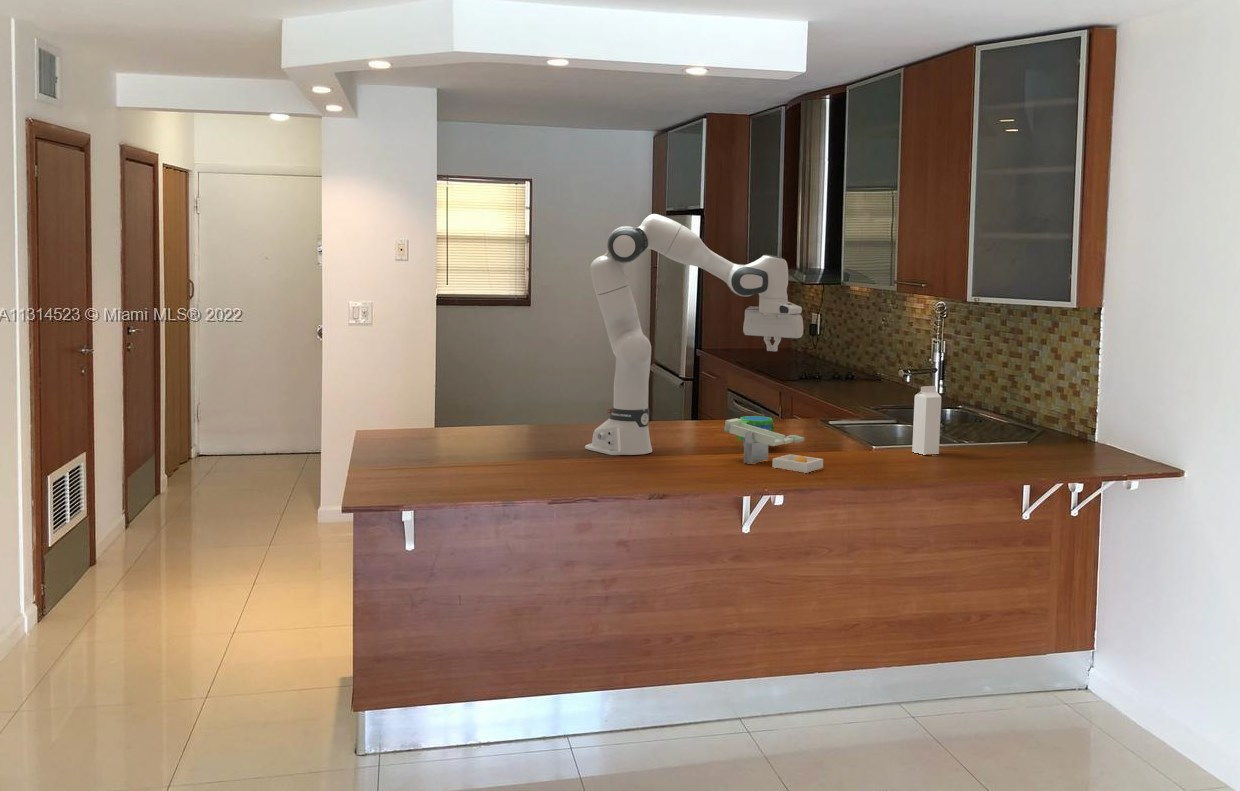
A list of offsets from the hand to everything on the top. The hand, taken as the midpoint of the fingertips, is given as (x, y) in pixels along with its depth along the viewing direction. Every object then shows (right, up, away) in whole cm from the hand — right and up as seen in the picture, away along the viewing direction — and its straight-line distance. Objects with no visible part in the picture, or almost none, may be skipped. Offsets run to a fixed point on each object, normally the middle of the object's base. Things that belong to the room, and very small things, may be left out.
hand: (772, 351), depth 346 cm
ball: (+6, -34, -19) cm, 39 cm away
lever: (-3, -27, -6) cm, 27 cm away
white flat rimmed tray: (+5, -36, -18) cm, 41 cm away
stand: (-6, -35, -9) cm, 36 cm away
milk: (+51, -33, +8) cm, 61 cm away
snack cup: (-3, -32, +15) cm, 35 cm away
